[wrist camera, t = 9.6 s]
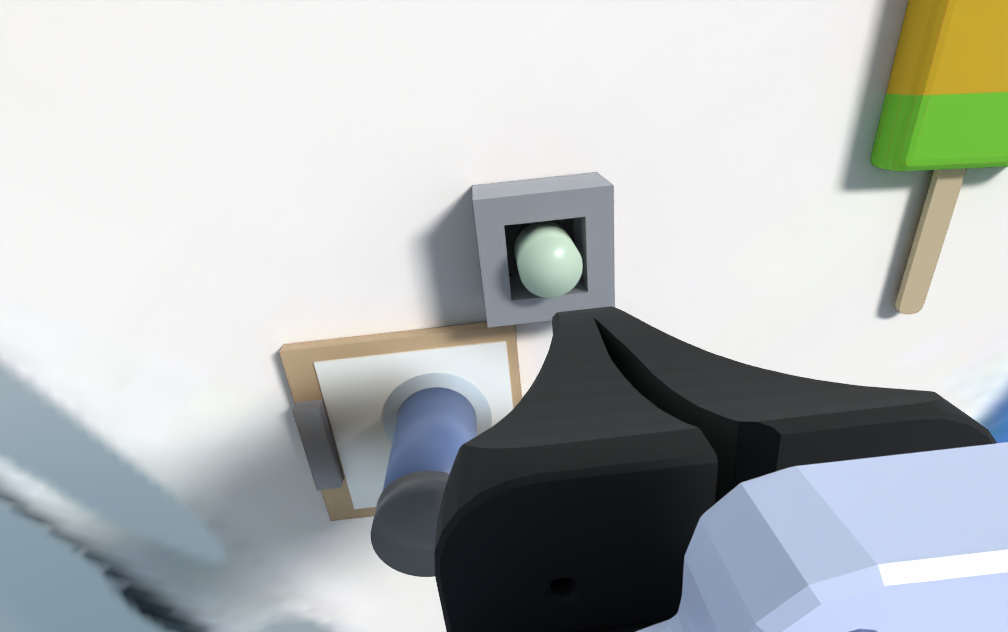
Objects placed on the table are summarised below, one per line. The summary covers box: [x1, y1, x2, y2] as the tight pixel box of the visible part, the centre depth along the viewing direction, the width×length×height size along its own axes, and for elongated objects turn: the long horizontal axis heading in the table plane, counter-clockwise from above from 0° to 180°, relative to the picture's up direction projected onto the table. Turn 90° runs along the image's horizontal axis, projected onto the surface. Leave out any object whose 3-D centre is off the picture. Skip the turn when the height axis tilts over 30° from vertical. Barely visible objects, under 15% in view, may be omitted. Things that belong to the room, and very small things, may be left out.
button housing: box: [472, 172, 615, 328], centre depth 19 cm, size 4×4×2 cm
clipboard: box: [279, 322, 522, 521], centre depth 22 cm, size 9×9×1 cm
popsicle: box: [871, 0, 1008, 314], centre depth 18 cm, size 6×15×2 cm, turn 2°
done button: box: [514, 221, 583, 298], centre depth 18 cm, size 2×2×2 cm
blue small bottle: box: [371, 387, 477, 577], centre depth 19 cm, size 3×3×6 cm
